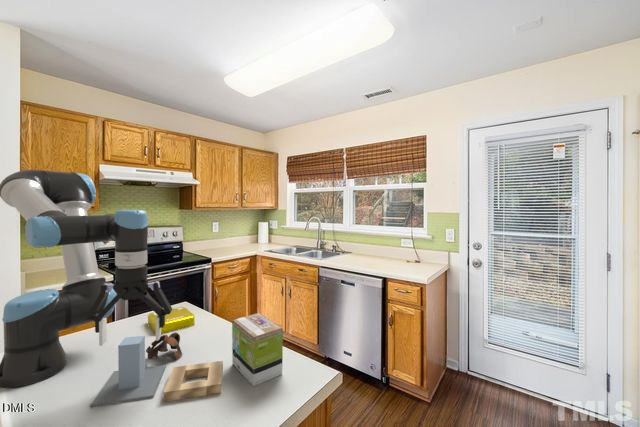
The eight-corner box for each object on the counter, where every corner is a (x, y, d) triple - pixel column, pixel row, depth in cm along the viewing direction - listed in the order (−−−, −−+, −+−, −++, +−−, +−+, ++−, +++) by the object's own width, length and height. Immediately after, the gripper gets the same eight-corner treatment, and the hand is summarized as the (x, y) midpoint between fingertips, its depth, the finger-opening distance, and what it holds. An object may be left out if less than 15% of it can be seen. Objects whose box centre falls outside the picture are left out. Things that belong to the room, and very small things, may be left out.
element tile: (155, 336, 113) (155, 324, 113) (146, 324, 124) (146, 312, 124) (196, 326, 123) (196, 314, 123) (184, 315, 134) (184, 305, 134)
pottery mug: (176, 366, 93) (160, 347, 91) (152, 377, 94) (136, 358, 92) (193, 340, 104) (179, 322, 102) (171, 349, 106) (157, 332, 104)
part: (118, 389, 79) (118, 345, 79) (125, 378, 84) (124, 337, 84) (139, 386, 81) (139, 343, 80) (145, 376, 86) (144, 335, 85)
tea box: (230, 364, 94) (231, 318, 93) (259, 354, 100) (259, 311, 99) (253, 388, 82) (253, 335, 82) (283, 374, 89) (284, 326, 88)
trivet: (90, 407, 73) (90, 404, 73) (114, 373, 88) (114, 371, 88) (153, 397, 77) (153, 395, 77) (166, 366, 92) (166, 364, 92)
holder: (163, 401, 76) (163, 392, 76) (173, 375, 87) (173, 367, 87) (221, 392, 80) (221, 383, 80) (222, 368, 91) (222, 360, 91)
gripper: (70, 270, 74) (70, 352, 75) (178, 267, 81) (177, 342, 82) (84, 263, 81) (85, 338, 82) (183, 261, 88) (182, 330, 89)
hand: (131, 340), depth 82 cm, fingers open, 13 cm apart
